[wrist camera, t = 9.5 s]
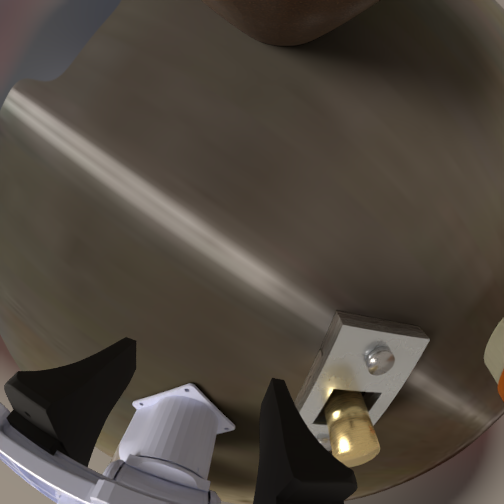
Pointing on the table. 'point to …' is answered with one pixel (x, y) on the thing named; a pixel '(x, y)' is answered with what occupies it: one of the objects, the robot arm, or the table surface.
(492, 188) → the table surface
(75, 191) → the table surface
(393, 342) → the square-hole plate
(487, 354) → the reusable coffee cup
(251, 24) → the plant pot
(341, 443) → the brass pin
